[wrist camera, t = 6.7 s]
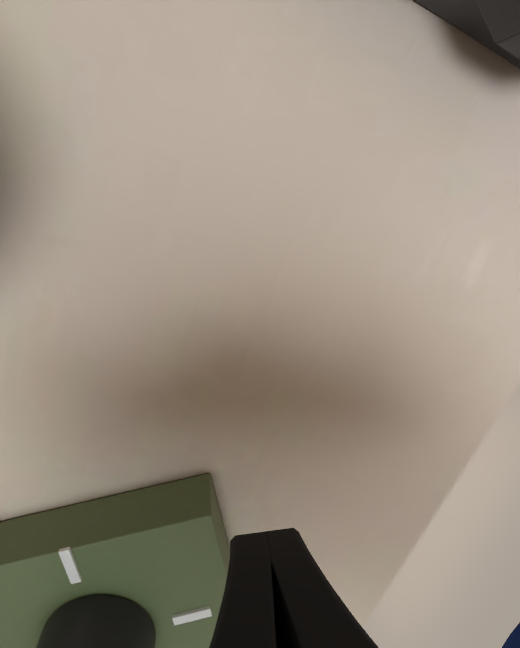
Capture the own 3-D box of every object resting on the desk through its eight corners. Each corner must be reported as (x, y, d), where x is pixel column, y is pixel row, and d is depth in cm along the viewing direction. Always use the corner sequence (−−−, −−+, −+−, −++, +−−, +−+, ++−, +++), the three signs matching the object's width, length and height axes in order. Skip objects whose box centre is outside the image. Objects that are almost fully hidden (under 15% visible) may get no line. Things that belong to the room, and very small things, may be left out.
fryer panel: (209, 470, 19) (210, 515, 16) (249, 624, 21) (256, 685, 19) (-49, 530, 18) (-90, 587, 16) (24, 681, 21) (-1, 752, 18)
